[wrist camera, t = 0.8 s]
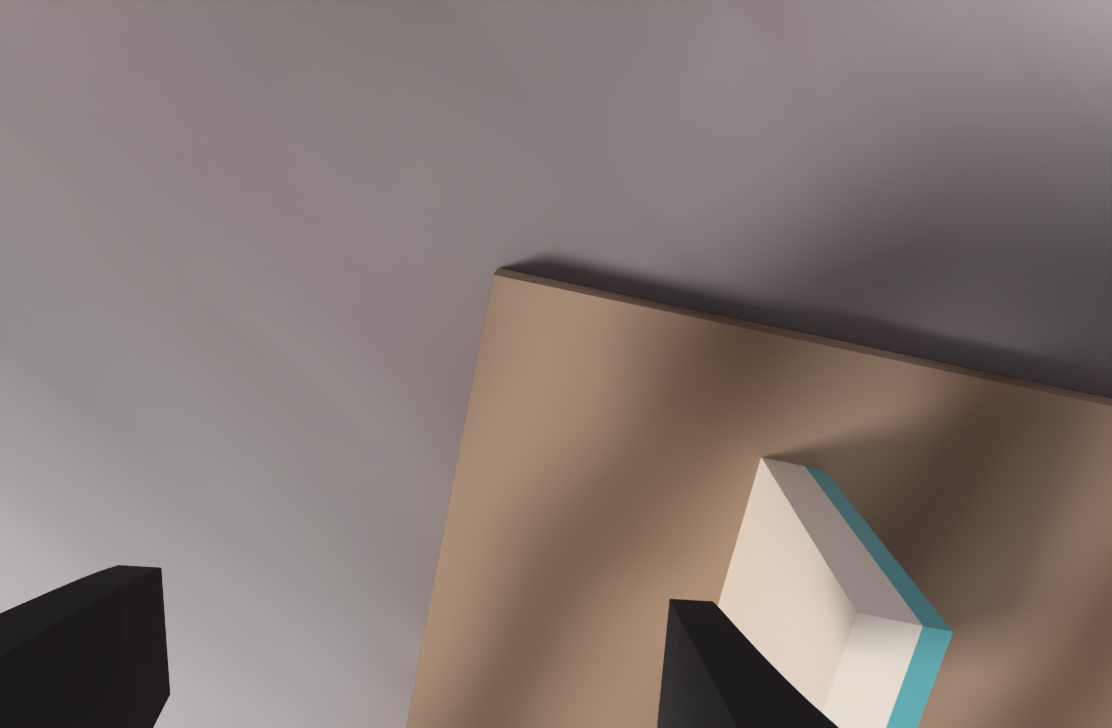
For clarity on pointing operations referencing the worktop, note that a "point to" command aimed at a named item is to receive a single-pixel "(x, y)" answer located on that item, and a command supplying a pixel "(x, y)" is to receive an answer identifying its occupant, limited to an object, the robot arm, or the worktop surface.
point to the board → (721, 499)
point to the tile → (831, 602)
